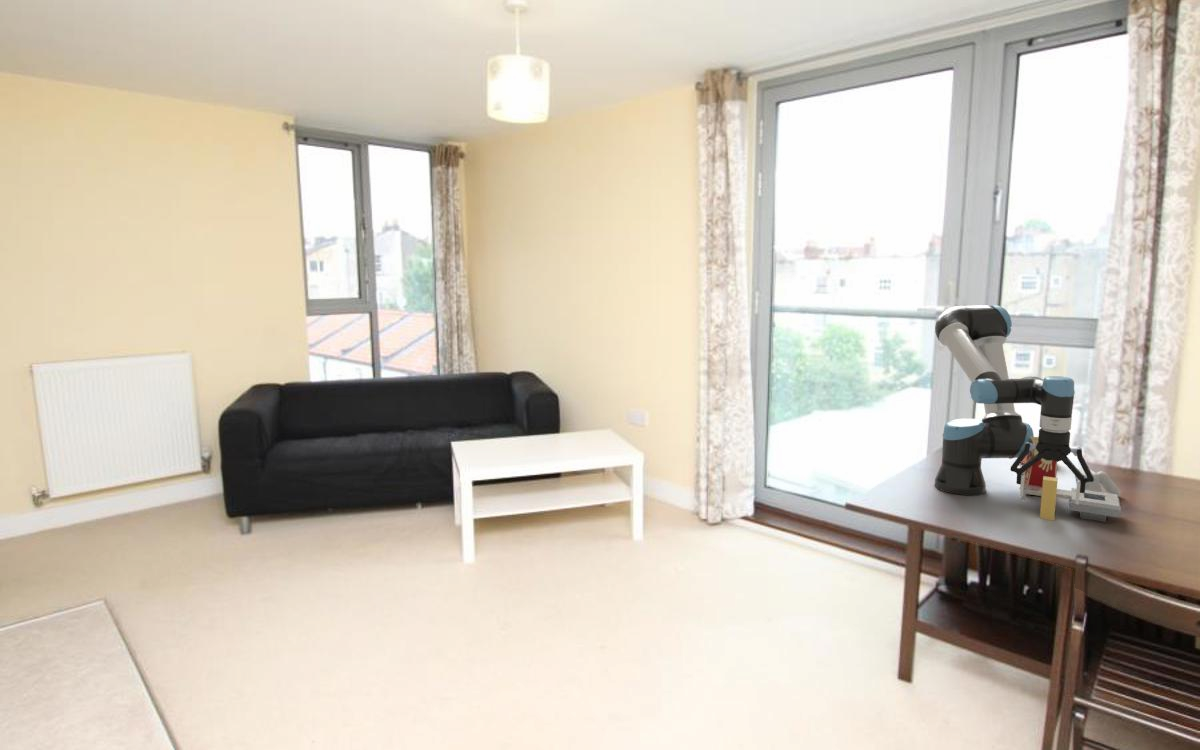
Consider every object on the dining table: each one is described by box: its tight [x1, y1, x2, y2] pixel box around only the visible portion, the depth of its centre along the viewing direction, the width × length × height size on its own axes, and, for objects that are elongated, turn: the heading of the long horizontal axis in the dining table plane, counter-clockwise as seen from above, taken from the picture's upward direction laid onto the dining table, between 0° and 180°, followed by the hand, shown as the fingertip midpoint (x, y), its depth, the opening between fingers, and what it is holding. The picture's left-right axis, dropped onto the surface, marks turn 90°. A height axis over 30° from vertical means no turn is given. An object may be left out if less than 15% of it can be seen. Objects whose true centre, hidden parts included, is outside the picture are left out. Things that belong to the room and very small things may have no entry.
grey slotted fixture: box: [1020, 484, 1122, 523], centre depth 196 cm, size 24×12×6 cm, turn 54°
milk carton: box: [1019, 436, 1058, 497], centre depth 211 cm, size 9×9×20 cm
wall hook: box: [1074, 467, 1122, 498], centre depth 208 cm, size 8×10×10 cm
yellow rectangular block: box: [1039, 476, 1059, 521], centre depth 193 cm, size 4×4×12 cm
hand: (1048, 498), depth 193 cm, fingers open, 13 cm apart
